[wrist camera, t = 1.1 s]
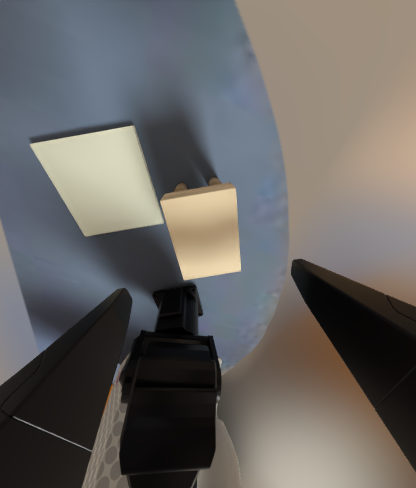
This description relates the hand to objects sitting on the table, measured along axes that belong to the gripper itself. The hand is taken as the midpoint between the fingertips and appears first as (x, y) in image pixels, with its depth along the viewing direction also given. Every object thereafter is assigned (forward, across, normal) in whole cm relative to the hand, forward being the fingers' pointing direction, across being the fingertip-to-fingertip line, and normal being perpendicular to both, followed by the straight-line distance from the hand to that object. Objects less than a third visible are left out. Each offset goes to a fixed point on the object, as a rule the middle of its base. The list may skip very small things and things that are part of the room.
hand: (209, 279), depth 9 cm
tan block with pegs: (+11, 0, 0) cm, 11 cm away
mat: (+11, +9, -4) cm, 15 cm away
